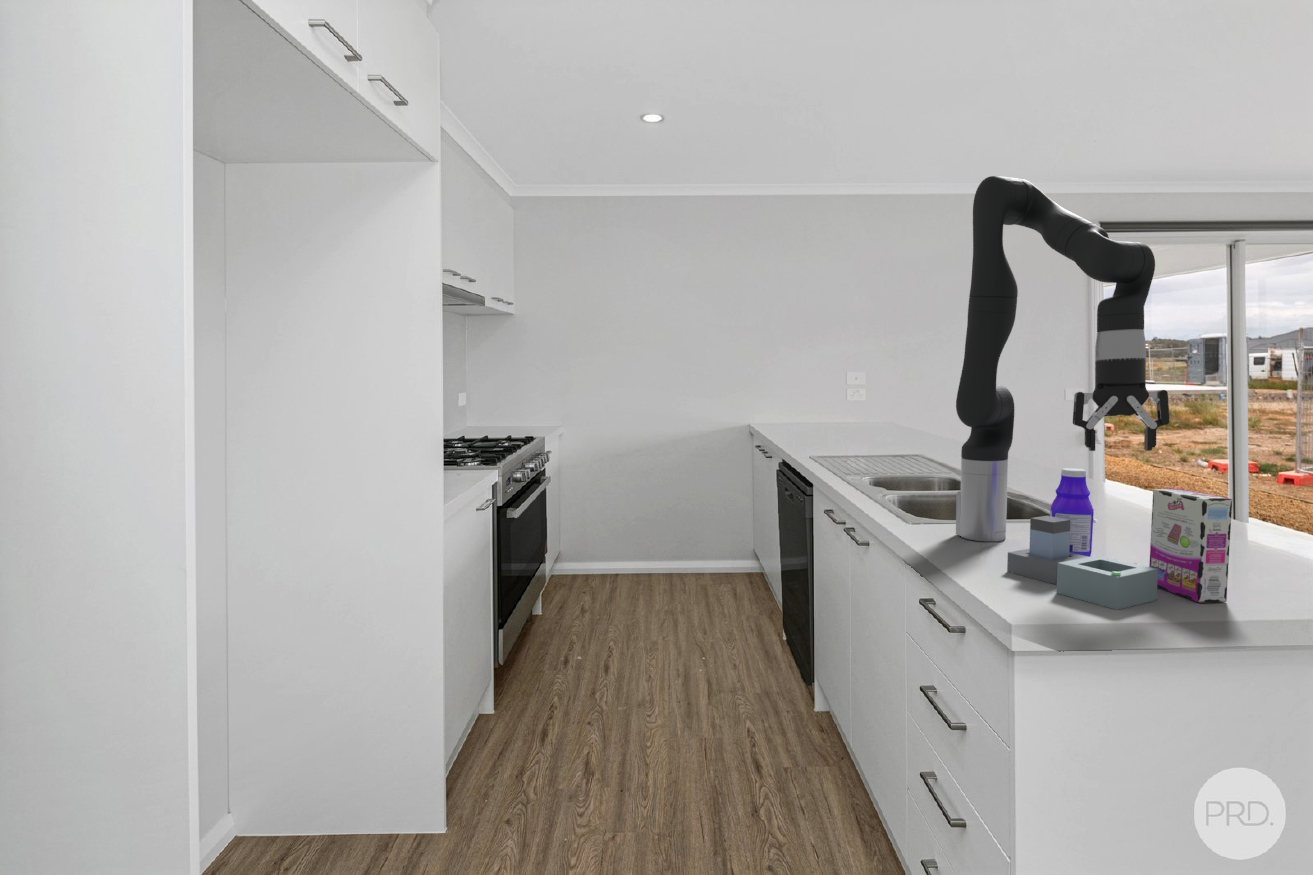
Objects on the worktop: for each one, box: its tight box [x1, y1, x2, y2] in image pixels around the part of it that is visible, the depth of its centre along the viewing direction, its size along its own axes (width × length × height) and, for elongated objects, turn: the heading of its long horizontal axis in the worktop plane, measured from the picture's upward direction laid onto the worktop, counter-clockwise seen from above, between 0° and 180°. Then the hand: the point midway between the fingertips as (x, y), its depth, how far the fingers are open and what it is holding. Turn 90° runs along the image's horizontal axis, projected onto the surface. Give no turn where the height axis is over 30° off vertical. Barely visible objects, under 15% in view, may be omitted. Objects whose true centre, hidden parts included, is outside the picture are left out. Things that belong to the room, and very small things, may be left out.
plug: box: [1029, 515, 1071, 560], centre depth 135 cm, size 4×4×10 cm
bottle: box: [1049, 467, 1095, 557], centre depth 145 cm, size 7×6×17 cm
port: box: [1056, 555, 1158, 611], centre depth 121 cm, size 10×10×5 cm
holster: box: [1006, 548, 1088, 585], centre depth 135 cm, size 10×10×4 cm
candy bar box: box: [1148, 488, 1234, 604], centre depth 122 cm, size 11×5×16 cm, turn 5°
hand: (1119, 450), depth 133 cm, fingers open, 8 cm apart
